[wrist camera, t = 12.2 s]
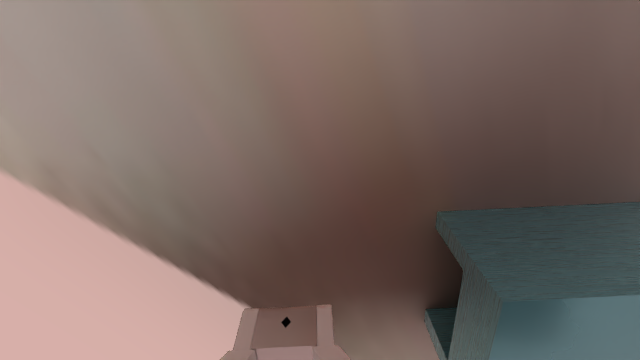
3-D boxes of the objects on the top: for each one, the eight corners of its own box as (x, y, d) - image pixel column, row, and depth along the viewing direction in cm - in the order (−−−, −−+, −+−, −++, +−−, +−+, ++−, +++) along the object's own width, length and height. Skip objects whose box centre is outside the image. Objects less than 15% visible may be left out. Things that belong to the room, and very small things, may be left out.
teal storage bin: (423, 319, 14) (469, 435, 10) (436, 210, 12) (503, 302, 8) (604, 310, 14) (724, 422, 10) (650, 200, 12) (829, 285, 8)
